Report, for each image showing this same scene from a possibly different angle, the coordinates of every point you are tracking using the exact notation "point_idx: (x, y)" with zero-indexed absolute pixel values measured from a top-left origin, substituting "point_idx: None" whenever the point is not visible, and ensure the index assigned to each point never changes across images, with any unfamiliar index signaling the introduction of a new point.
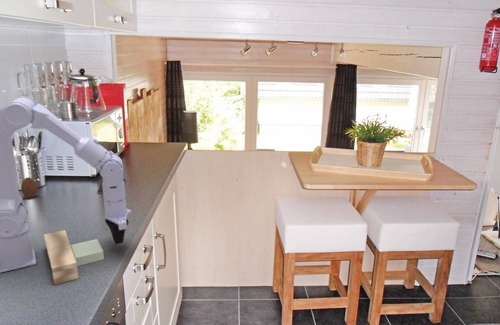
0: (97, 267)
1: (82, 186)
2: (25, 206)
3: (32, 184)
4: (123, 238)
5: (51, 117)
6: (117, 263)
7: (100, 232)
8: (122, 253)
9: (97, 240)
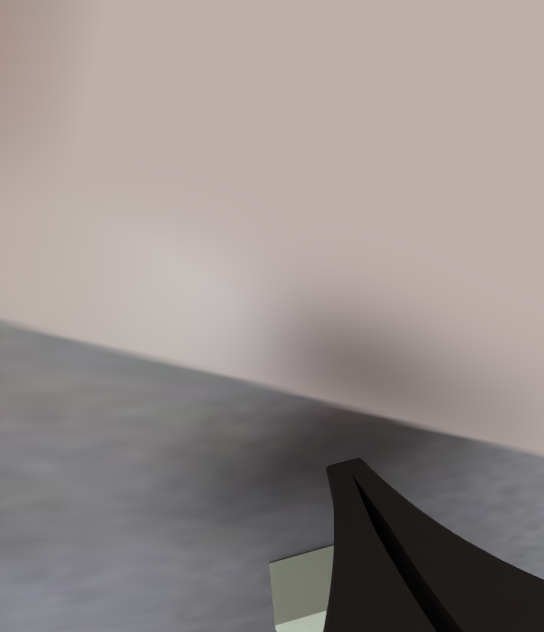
0: (491, 538)
1: None
2: None
3: None
4: (377, 475)
5: None
6: (498, 452)
7: (62, 573)
8: (400, 430)
9: (299, 620)
